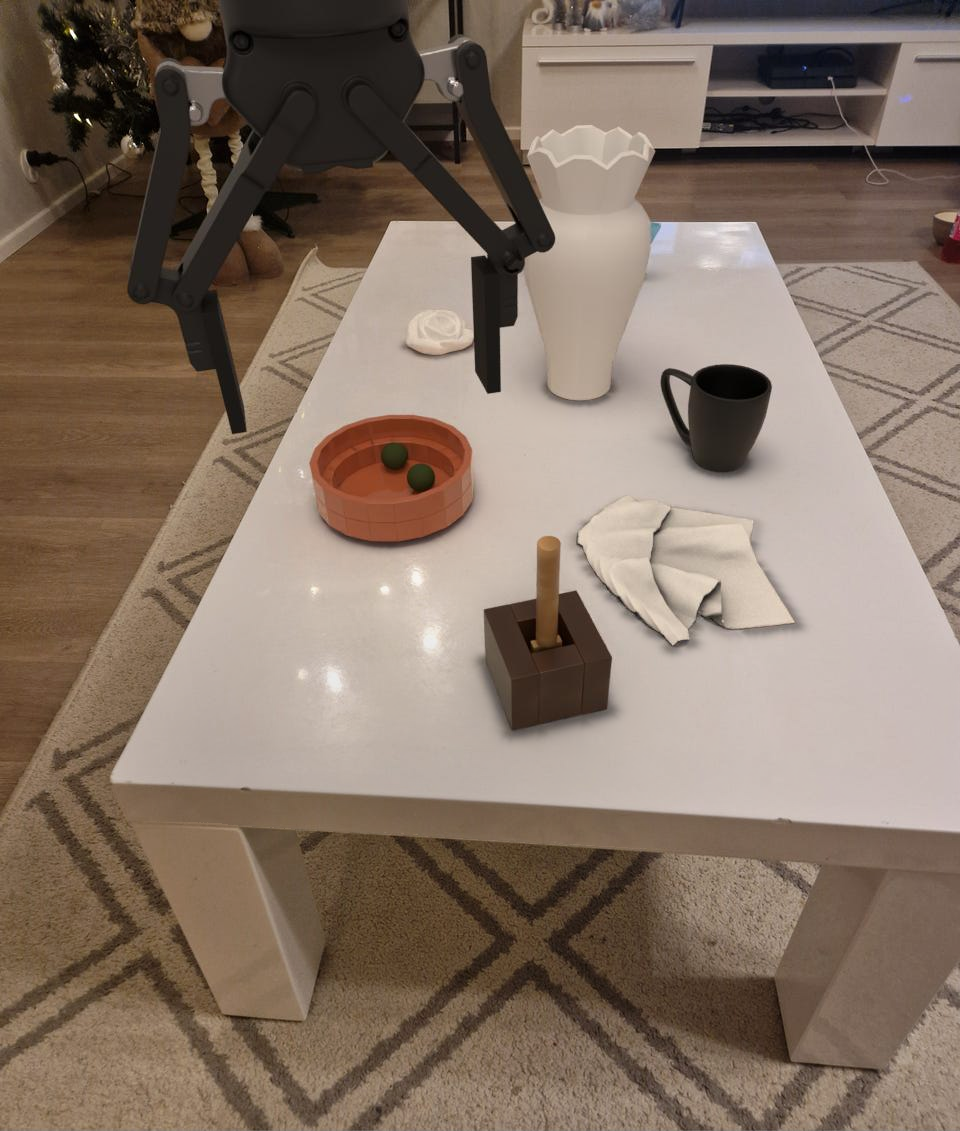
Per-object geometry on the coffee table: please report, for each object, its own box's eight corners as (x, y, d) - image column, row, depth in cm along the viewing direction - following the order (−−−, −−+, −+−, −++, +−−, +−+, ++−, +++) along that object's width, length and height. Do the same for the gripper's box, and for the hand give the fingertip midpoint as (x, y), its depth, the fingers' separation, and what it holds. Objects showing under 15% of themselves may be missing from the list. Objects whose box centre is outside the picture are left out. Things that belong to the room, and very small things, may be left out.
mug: (675, 421, 102) (685, 347, 96) (769, 454, 96) (786, 378, 90) (638, 450, 98) (645, 374, 92) (734, 488, 92) (749, 409, 86)
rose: (420, 292, 123) (484, 300, 120) (422, 322, 126) (485, 330, 123) (391, 321, 116) (458, 330, 113) (394, 352, 118) (459, 361, 116)
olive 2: (440, 465, 90) (422, 455, 92) (417, 475, 88) (400, 464, 90) (441, 490, 92) (423, 479, 93) (419, 500, 90) (401, 489, 92)
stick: (534, 694, 70) (536, 552, 61) (528, 679, 72) (529, 538, 62) (562, 687, 71) (568, 546, 61) (555, 673, 72) (560, 532, 62)
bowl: (328, 561, 84) (320, 516, 81) (310, 470, 97) (302, 428, 93) (491, 530, 87) (490, 486, 84) (453, 446, 100) (450, 404, 96)
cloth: (607, 487, 92) (608, 468, 91) (818, 537, 85) (823, 517, 83) (534, 605, 79) (534, 586, 77) (778, 678, 71) (784, 658, 69)
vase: (657, 377, 111) (685, 132, 92) (600, 427, 102) (618, 166, 83) (560, 349, 118) (568, 116, 99) (498, 393, 109) (494, 146, 90)
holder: (511, 731, 68) (511, 679, 64) (485, 660, 74) (483, 608, 70) (607, 709, 69) (612, 657, 65) (573, 641, 75) (576, 590, 71)
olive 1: (394, 439, 92) (395, 434, 95) (374, 457, 93) (375, 452, 95) (414, 459, 93) (413, 454, 96) (393, 477, 93) (394, 472, 96)
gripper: (578, -114, 38) (562, 338, 51) (-32, -83, 33) (129, 402, 47) (647, -108, 32) (608, 398, 46) (-75, -70, 28) (122, 477, 41)
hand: (366, 401), depth 46 cm, fingers open, 13 cm apart
